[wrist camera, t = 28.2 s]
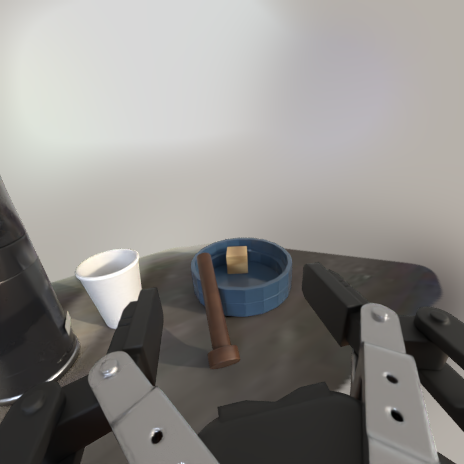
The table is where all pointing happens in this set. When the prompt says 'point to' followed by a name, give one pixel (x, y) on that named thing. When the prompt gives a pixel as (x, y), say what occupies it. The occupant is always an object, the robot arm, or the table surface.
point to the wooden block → (237, 260)
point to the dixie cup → (111, 282)
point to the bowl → (248, 277)
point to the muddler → (215, 317)
